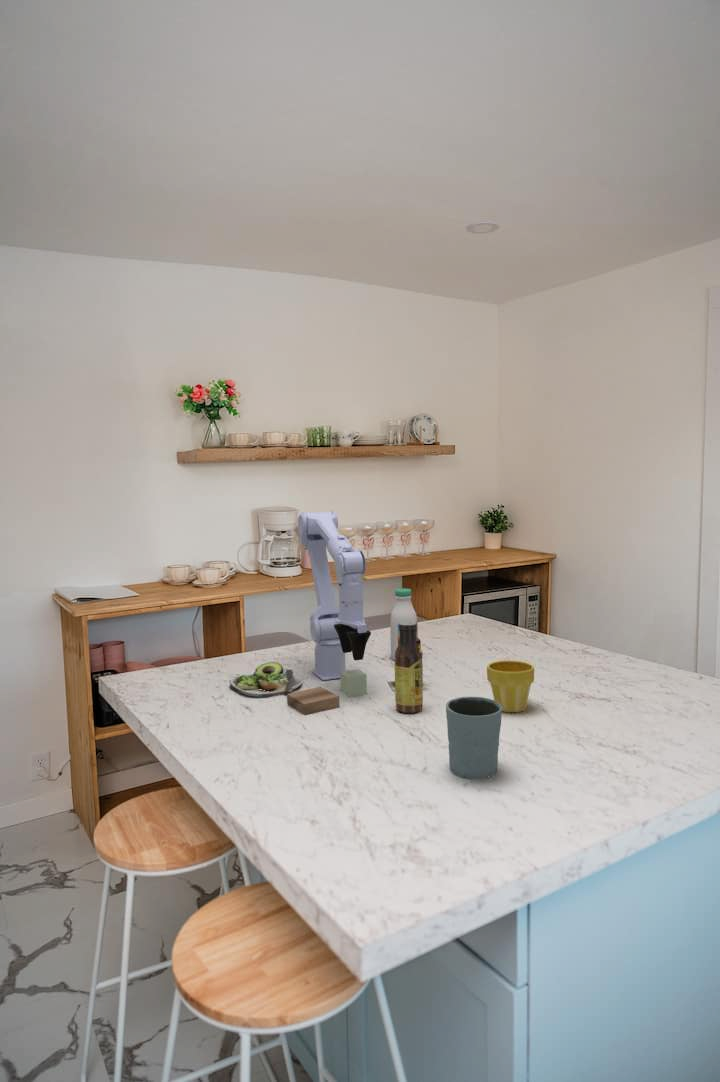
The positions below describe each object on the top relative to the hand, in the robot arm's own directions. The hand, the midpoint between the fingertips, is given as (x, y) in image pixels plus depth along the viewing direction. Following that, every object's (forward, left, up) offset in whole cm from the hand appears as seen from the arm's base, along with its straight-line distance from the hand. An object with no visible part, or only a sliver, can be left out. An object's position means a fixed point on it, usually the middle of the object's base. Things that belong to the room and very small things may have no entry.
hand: (352, 656), depth 177 cm
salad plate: (-15, -18, -10) cm, 25 cm away
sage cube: (0, 0, -9) cm, 9 cm away
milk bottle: (-22, +24, -9) cm, 34 cm away
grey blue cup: (+51, +4, -9) cm, 52 cm away
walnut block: (+5, -12, -10) cm, 16 cm away
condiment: (+1, +14, -9) cm, 17 cm away
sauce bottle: (+17, +7, -9) cm, 21 cm away
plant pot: (+26, +28, -9) cm, 39 cm away
